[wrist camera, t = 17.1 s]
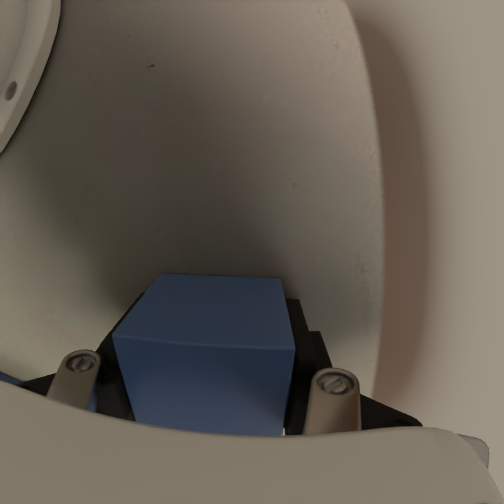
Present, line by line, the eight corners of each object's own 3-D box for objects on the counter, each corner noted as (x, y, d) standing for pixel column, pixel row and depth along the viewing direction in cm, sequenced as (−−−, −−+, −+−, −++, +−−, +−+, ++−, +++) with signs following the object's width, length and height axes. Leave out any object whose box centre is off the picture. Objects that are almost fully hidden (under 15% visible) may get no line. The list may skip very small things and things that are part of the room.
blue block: (161, 272, 11) (110, 334, 6) (280, 277, 11) (295, 347, 6) (171, 366, 12) (143, 442, 8) (273, 372, 12) (278, 454, 8)
